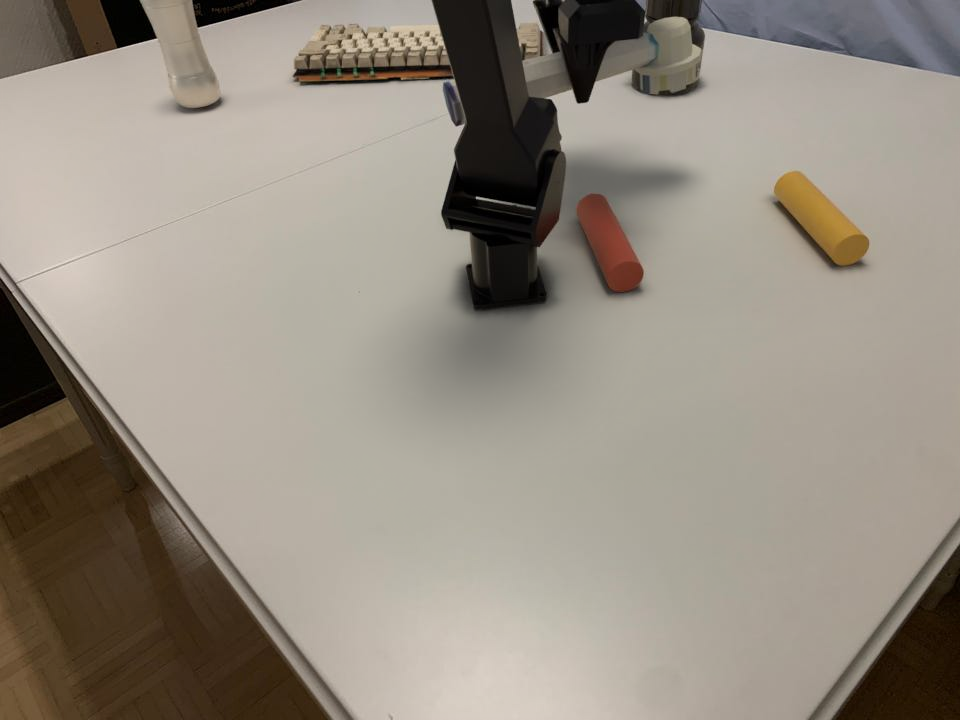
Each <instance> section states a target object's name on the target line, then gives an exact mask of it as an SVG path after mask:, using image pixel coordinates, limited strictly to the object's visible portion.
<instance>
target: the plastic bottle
mask: <svg viewBox="0 0 960 720" xmlns="http://www.w3.org/2000/svg"><path fill="white" fill-rule="evenodd" d="M139 2H140V4H141V6H142V8H143V10H144V12H145V14H146V16H147V19H148V20H149V23H150V24H151V26H152V29H153V32H154V34H155V37H156V38H157V42H158V44H159V47H160V49H161V53H162V56H163V61H164V65H165V68H166V72H167V80H168V85H169V89H170V92H171V94H172V96H173V98H174V99H175V101H176V103H178V104H179V105H180V106H182V107H184V108H187V109H198V108H203V107H207V106H210V105H213V104H215V103H216V102H218V100H219V98H220V95H221V88H220V82H219V79H218V77H217V74H216V72H215V70H214V68H213V67H212V66H211V63H210V60H209V58H208V55H207V53H206V50H205V47H204V45H203V43H202V40H201V36H200V33H199V28H198V24H197V20H196V16H195V15H196V14H195V10H194V9H195V8H194V4H193V0H139Z"/></svg>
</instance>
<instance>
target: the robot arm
mask: <svg viewBox="0 0 960 720" xmlns="http://www.w3.org/2000/svg"><path fill="white" fill-rule="evenodd" d="M431 3H432V6H433V10H434V11H433V12H434V14H435V17H436V21H437V25H439V28H440V32H441V35H442V39H443V42H444V46H445V49H446V53H447V56H448V60H449V63H450V67H451V70H452V74H453V76H452V77H453V79H454V81H455V84H456V88H457V91H458V94H459V98H460V101H461V105H462V108H463V112H464V116H465V121H466V123H465V124H463V127H462V130H461V132H460V134H459V137H458V139H457V141H456V144H455V146H454V148H453V153H454V159H455V160H454V163H453V167H452V171H451V174H450V177H449V181H448V185H447V188H446V192H445V196H444V201H443V203H442V208H441V209H440V210H441V211H440V215H441V218H442V222H443V223H444V227H445V229H446V230H449V231H453V230H455V231H459V232H460V231H461V232H466V233H469V247H470V259H471V263H468V264H466V265H465V273H466V278H467V283H468V289H469V294H470V299H471V300H470V301H471V305H472V308H473V309H474V310H485V309H495V308H503V307H510V306H511V307H512V306H520V305H527V304H529V305H530V304H533V303H534V304H535V303H544V302H546V301H547V300H548V292H547V289H546V286H545V283H544V280H543V276H542V274H541V270H540V268H539V264H538V248H540V247H541V246H542V245H543V243H544V242H545V240H546V239H547V237H549V235H550V233H551V232H552V231H553V229H554V228H555V227H556V225H557V224H558V222H559V221H560V217H561V216H560V215H561V209H562V202H563V201H562V200H563V193H564V188H565V187H564V186H565V181H566V180H565V178H566V174H567V173H566V171H567V156H566V154H565V151H562V150H563V149H562V144H561V142H562V139H563V136H562V133H561V132H560V128H559V121H558V120H559V119H558V109H557V106H556V104H555V103H554V101H553V100H552V99H551V98H537V97H529V94H528V90H527V85H526V79H525V74H524V68H523V63H522V57H521V52H520V46H519V41H518V35H517V30H516V29H517V25H516V19H515V14H514V8H513V2H512V0H431ZM532 6H533V8H534V9H535V12H536V15H537V17H538V20H539V23H540V25H541V28H542V30H543V34H544V35H545V38H546V41H547V43H548V46H549V48H550V51H551V54H552V53H556V52H560V53H561V56H562V59H563V63H564V66H565V69H566V72H567V75H568V78H569V81H570V85H571V88H572V90H571V91H572V93H573V97H574V100H575V102H576V103H577V104H586V103H589V101H590V99H591V96H592V93H593V90H594V86H595V84H596V82H595V81H596V78H597V75H598V72H599V69H600V66H601V63H602V61H603V58H604V56H605V53H606V51H607V49H608V47H609V46H610V45H612V44H613V43H614V42H615V41H622V40H631V39H639V38H641V37H642V36H643V32H644V24H645V22H646V21H645V20H646V18H645V15H646V12H645V10H646V9H644V8H643V6H641V4H639V2H638V1H637V0H532ZM485 199H486V200H485ZM491 200H492V201H491ZM496 201H499V202H496ZM502 202H504V203H502ZM507 203H509V204H507ZM519 205H520V206H519ZM523 206H525V207H523ZM529 207H531V208H529Z"/></svg>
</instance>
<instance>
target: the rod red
mask: <svg viewBox="0 0 960 720" xmlns="http://www.w3.org/2000/svg"><path fill="white" fill-rule="evenodd" d="M575 209H576V211H575V213H576V215H577V218H578V220H579V222H580V225H581V227H582V229H583V232H584V234H585V236H586V238H587V240H588V243H589V245H590V247H591V249H592V251H593V254H594V256H595V258H596V261H597V262H598V263H597V264H598V265H599V267H600V269H601V273H602V274H603V277H604V279H605V281H606V283H607V286H608V287H609V289H611V290H612V291H615V292H617V293H624V292H629V291H631V290H634V289H635V288H637V287H638V286H639V285H640V284H641V282H642V281H643V279H644V275H645V274H644V273H645V271H644V267H643V266H642V264H641V262H640V260H639V258H638V256H637V255H636V253H635V251H634V249H633V247H632V245H631V243H630V241H629V239H628V237H627V235H626V233H625V231H624V230H623V228H622V226H621V224H620V222H619V220H618V218H617V216H616V214H615V212H614V210H613V208H612V206H611V204H610V202H609V201H608V199H607V198H606V197H605V196H604V195H603V194H601V193H596V192H595V193H594V192H593V193H589V194H587V195H585V196H583V197H582V198H581V199H580V200H579V201H578V203H577V206H576V208H575Z"/></svg>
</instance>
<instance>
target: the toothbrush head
mask: <svg viewBox="0 0 960 720" xmlns="http://www.w3.org/2000/svg"><path fill="white" fill-rule="evenodd" d="M700 57H701V48H699V47H697V46H696V45H694V44H692V38H691V26H690V24H689V22H688V20H687V19H685V18H683V17H669V18H663V19H660V20H657V21H654V22H653V23H651V24H649V26H648V28H647V31H644V32H643V36H642V37H641V38H639V39H631V40H622V41H615V42H614V43H613V44H612V45H610V46H609V47H608V49H607V51H606V53H605V56H604V58H603V61H602V63H601V66H600V69H599V72H598V75H597V78H596V81H595V83H596V82H600V81H602V80H606V79H609V78H612V77H615V76H618V75H621V74H624V73H628V72H630V71H631V72H632V70H634V69H635V71H637V72H638V73H639V84H640V89H641V90H640V89H639V90H640V91H642V92H643V93H644V94H649V95H659V94H658V93H659V91H664V90H670V92H671V93H674V92H677V91H680V90H683V89H686V85H687V84H688V83H695V79H696V64H697V63H699V62H700ZM522 63H523V68H524V74H525V79H526V85H527V90H528V94H529V97H537V98H545V99H548V98H550V97H553V96H556V95H560V94H562V93H565V92H568V91H572V88H571V85H570V81H569V78H568V75H567V72H566V69H565V66H564V63H563V59H562V56H561V53H560V52H556V53H552V52H551V53H549V54H543V56H540V57H536V58H532V59H527V60H523V61H522ZM442 92H443V97H444V102H445V106H446V109H447V112H448V115H449V117H450V120H451V122H452V123H453V125H454V126H455V127H459V126H464V125H465V123H466V121H465V116H464V112H463V108H462V105H461V101H460V98H459V94H458V91H457V88H456V84H455V81H454V78H452V79H450V80H447V81H443V82H442Z"/></svg>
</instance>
